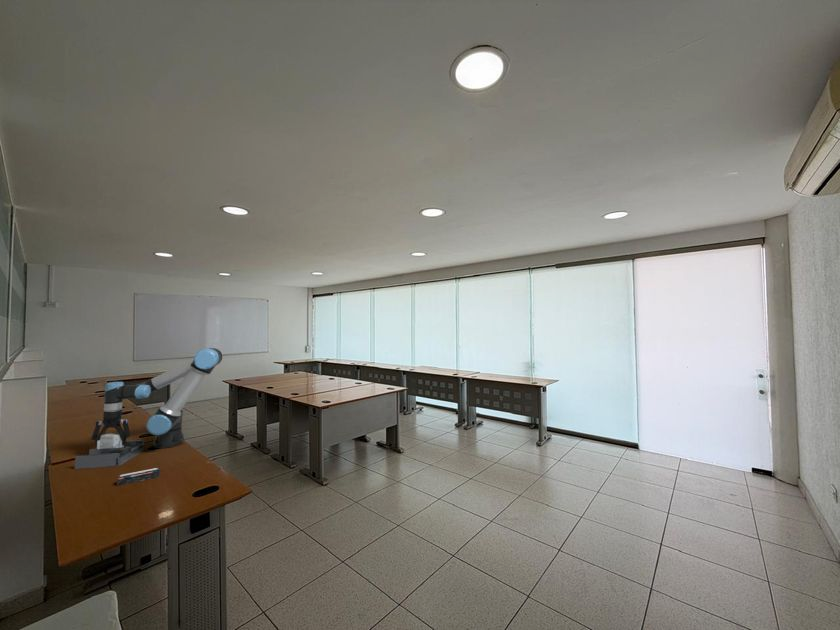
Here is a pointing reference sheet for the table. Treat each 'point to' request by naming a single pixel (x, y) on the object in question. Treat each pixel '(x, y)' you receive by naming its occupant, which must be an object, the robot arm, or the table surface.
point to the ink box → (110, 441)
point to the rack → (109, 455)
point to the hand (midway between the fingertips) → (110, 451)
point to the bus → (138, 476)
